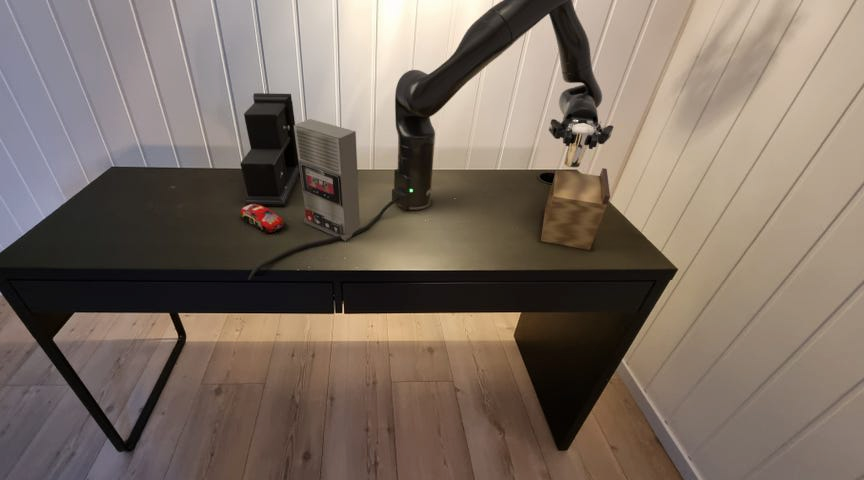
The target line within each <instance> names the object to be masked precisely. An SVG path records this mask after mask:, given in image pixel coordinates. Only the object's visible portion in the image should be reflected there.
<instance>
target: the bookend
mask: <svg viewBox="0 0 864 480" xmlns="http://www.w3.org/2000/svg"><path fill="white" fill-rule="evenodd" d="M252 97H253V104H251V105H250V107H248V108H247V110H246V111H245V112H243V117H244V122H245V129H246V132H247V136H248V142H249V146H250V150H249V151H248V152H247V154H246V155H244V158H243V159H242V160H241V161H240V163H239V165H240V169H241V172H242V177H243V181H244V185H245V190H246V194H247V196H246V198H245V203H246V206H247V205H250V204H258V205H261V206H263V207H285V206H286V204H287V202H288V200H289V197H290V195H291V194H292V191H293V189H294V188H295V185H296V182H297V181H298V178H299V176H300V172H299V171H300V168H299V161H298V154H297V147H296V139H295V132H294V125H295V124H296V121H295V120H296V119H295V112H294V105H293V99H292V93H270V92H269V93H265V92H264V93H262V92H259V93H258V92H257V93H255V92H254V93H253V96H252ZM294 181H295V182H294Z"/></svg>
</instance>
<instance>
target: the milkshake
mask: <svg viewBox="0 0 864 480" xmlns="http://www.w3.org/2000/svg"><path fill="white" fill-rule="evenodd" d="M598 123H599V124H598V125H597V127H598V126H599V125H601V123H602V121H600V122H598ZM597 127H596V128H597ZM596 128H595V129H596ZM595 129H594V128H593V127H592V126H591V125H588V124H585V123H578V124H575V125H574V126H573V127H572V130H571V134H572V138H571V142H570V145H569V146H567V150H566V151H567V152H566V155H565V160H564V165H565V166H566V167H569V168H579V167H580V165H581V163H582V161H583V158H584V156H585V153H586V151H587V149H588V147H589V145H588V144H589V142H590V140H591V137H592V136H593V134H594V131H595Z"/></svg>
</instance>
